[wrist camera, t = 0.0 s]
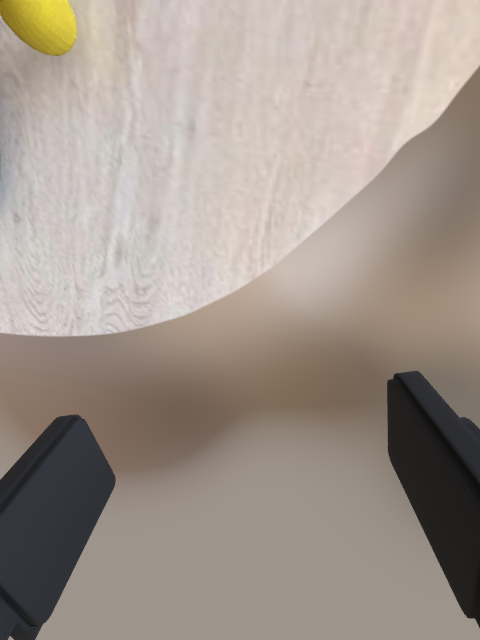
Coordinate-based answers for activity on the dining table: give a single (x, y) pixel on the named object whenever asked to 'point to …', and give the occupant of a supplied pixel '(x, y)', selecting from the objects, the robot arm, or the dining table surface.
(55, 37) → the lemon
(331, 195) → the dining table surface
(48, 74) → the dining table surface
